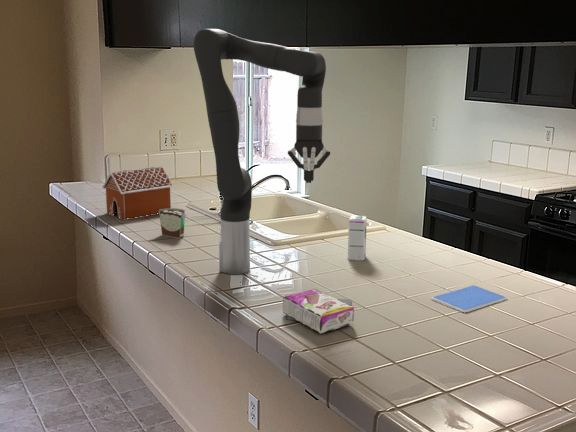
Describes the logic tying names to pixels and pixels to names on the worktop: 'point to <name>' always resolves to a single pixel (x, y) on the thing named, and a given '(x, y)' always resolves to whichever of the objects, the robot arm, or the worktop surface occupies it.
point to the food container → (172, 222)
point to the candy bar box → (318, 310)
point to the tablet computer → (469, 298)
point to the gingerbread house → (137, 192)
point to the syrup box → (357, 237)
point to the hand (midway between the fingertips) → (308, 182)
